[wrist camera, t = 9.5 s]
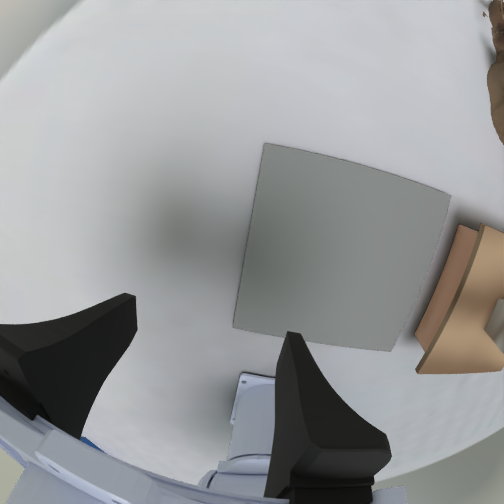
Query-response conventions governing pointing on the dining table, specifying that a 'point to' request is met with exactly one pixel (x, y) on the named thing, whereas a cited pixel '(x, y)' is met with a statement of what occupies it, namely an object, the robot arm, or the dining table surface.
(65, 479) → the robot arm
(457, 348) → the lid
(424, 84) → the dining table surface
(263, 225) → the mat
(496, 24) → the food dish
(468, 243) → the pink shallow tray
